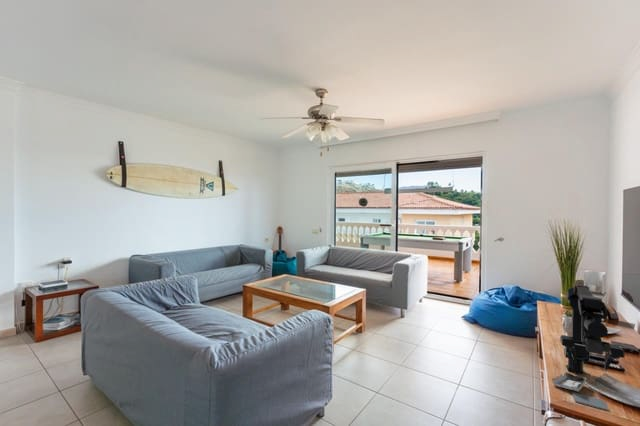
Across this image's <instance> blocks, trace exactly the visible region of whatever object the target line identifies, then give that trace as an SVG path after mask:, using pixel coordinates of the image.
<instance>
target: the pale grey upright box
mask: <svg viewBox="0 0 640 426" xmlns="http://www.w3.org/2000/svg"><path fill="white" fill-rule="evenodd" d="M583 286H587V287H589V291H590V292H591V294H592V295H593V296H594V297H597V298H600V299H601V300H602V302H604V303H605V305H606V303H607V272H604V271H596V270H587V269H586V270H585V271H583ZM606 306H607V305H606ZM597 314H600V313H597ZM605 320H606V319H602V323H604V321H605Z"/></svg>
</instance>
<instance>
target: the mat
mask: <svg viewBox="0 0 640 426" xmlns="http://www.w3.org/2000/svg"><path fill="white" fill-rule="evenodd" d="M571 395H572V398H573V401H574V402H575V403H577V404H581V405H584V406H587V407H592V408H595V409H599V410H603V411H607V412H609V411H610V410H609V408H608V405H607V404H606V402H605V400H604V399H601V398H597V397H592V396H588V395H585V394H583V393H582V394H581V393H579V392H578V393H577V392H575V391H572V392H571Z"/></svg>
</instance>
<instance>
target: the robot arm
mask: <svg viewBox="0 0 640 426" xmlns="http://www.w3.org/2000/svg"><path fill="white" fill-rule="evenodd" d="M565 295H566V296H565V297H566V300H567V303H568V304H569V306H570V308H571V325H570V327H571V331H570V332H571V333H570V334H571V335H570V336H568V335H563V334H562V335H560V337H559V339H560V340H559V341H560V343H561V346H562V347H563V346H564V347H563V354H564V357H565V358H567V364H566V365H565V367H566V369H567V372H568V373H574V374H578V375H582V376H586V371H585V370H584V363H589V362H590V356H591V354H598V355H599V356H603V355H604V364H603V365H604V370H605V371H608V369H609V367H610V365H611V364H612V362H613V361H614V360H617V359H618V360H619V359H620V358H622V359H625V356H626V355H625V354H626V353H625V350H624V349H623V348H622V347H621V346H620V345H617V344H611V343H610V342H609V341H608V342H607V341H602V338H604V337H606V336H607V335H608V333H609V330H608V328H607V326H606V325H605V324H604V322H602V319H605V320H608V317H609V311H608V308H607V305H605V303H604V302H602V300H601V299H600V298H597V297H594V296H593V295H592V294H591V292H590V291H589V287H587V286H584V285H579V284H576V285H575V284H574V285H573V287H571V288H568V289H567V291H566V294H565ZM597 313H600V314H597Z"/></svg>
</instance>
